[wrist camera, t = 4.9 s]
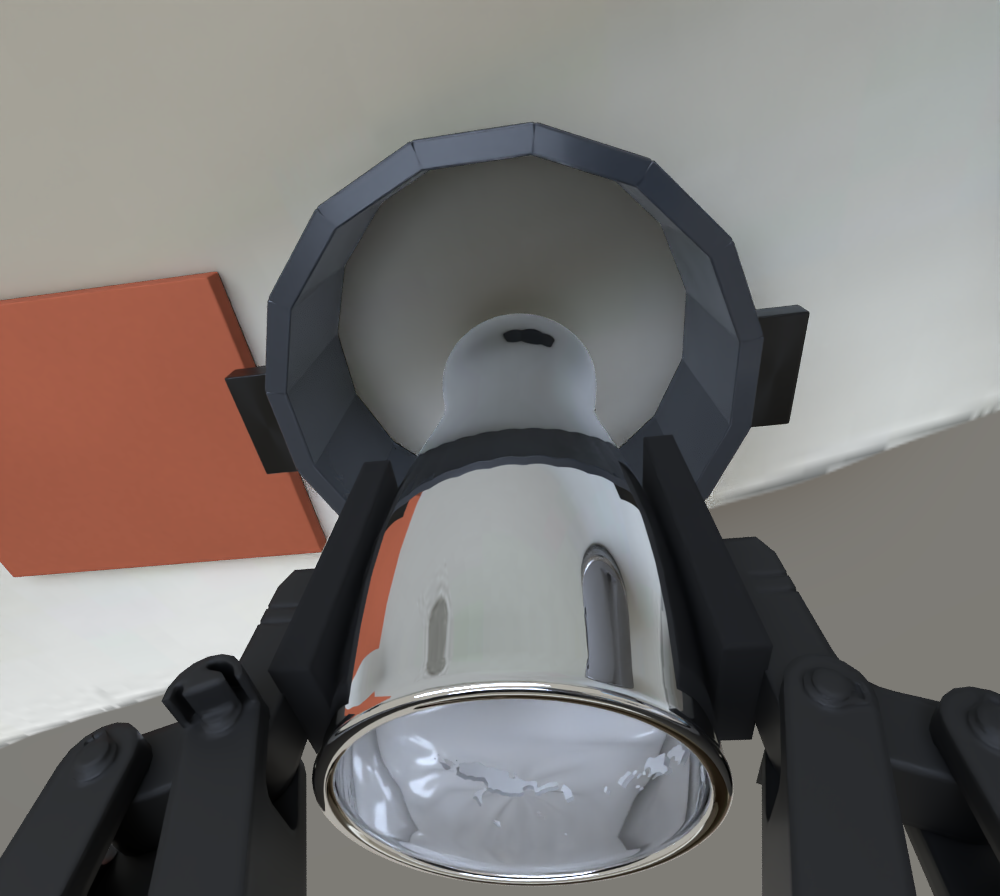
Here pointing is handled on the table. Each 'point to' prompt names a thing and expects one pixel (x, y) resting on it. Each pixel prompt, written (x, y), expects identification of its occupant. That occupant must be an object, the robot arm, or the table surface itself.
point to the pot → (682, 413)
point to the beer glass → (522, 645)
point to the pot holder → (134, 435)
